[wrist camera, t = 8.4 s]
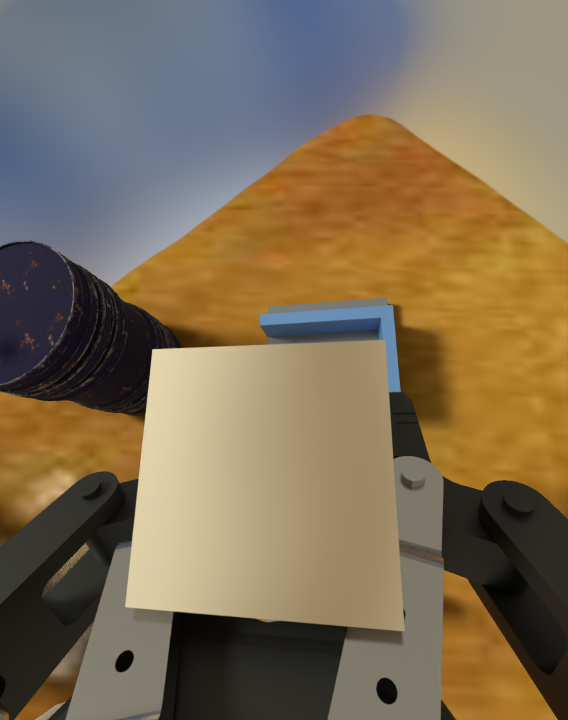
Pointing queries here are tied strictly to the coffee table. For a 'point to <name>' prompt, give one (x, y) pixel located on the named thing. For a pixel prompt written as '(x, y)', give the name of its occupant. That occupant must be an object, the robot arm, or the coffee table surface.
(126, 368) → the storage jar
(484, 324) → the coffee table surface
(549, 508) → the robot arm
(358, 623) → the peg
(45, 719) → the beige cylinder
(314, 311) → the grey slotted base
